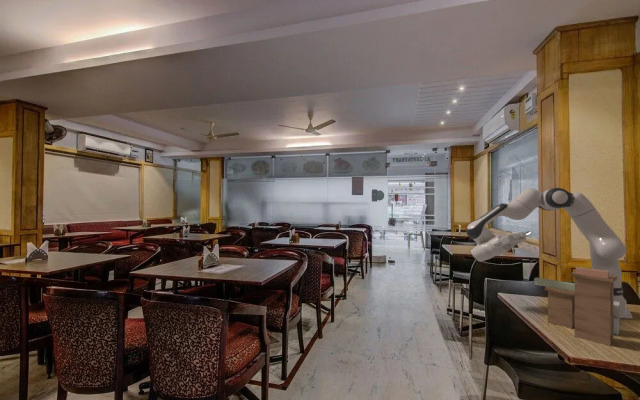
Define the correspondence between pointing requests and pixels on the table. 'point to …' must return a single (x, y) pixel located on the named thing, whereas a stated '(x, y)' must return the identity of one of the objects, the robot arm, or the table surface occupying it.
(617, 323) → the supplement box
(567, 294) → the low shelf
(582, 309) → the brown wooden tall block
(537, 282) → the sage rod
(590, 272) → the terracotta rod
